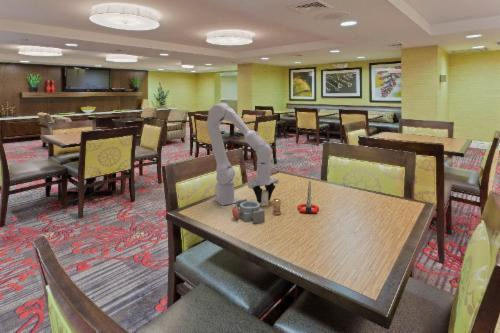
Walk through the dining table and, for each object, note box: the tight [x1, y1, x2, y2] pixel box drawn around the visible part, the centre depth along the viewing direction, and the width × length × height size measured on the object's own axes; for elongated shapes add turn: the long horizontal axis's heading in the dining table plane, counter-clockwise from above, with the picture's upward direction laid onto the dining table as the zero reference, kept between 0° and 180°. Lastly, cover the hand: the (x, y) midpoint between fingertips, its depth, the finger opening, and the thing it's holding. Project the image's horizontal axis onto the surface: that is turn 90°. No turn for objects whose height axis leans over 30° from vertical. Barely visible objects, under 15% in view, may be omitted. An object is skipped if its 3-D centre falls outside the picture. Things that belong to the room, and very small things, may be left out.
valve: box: [231, 198, 266, 225], centre depth 129 cm, size 15×11×5 cm
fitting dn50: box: [258, 189, 270, 207], centre depth 143 cm, size 5×5×6 cm
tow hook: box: [296, 180, 320, 215], centre depth 136 cm, size 9×14×10 cm
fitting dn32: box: [272, 198, 282, 216], centre depth 133 cm, size 3×3×6 cm
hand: (263, 201), depth 144 cm, fingers closed on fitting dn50, 4 cm apart
